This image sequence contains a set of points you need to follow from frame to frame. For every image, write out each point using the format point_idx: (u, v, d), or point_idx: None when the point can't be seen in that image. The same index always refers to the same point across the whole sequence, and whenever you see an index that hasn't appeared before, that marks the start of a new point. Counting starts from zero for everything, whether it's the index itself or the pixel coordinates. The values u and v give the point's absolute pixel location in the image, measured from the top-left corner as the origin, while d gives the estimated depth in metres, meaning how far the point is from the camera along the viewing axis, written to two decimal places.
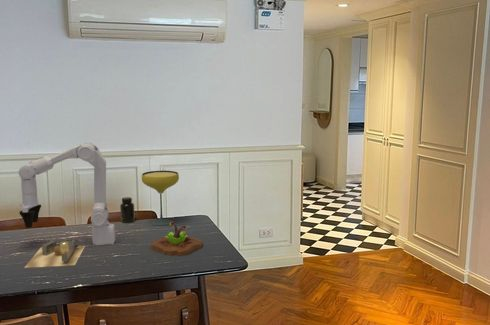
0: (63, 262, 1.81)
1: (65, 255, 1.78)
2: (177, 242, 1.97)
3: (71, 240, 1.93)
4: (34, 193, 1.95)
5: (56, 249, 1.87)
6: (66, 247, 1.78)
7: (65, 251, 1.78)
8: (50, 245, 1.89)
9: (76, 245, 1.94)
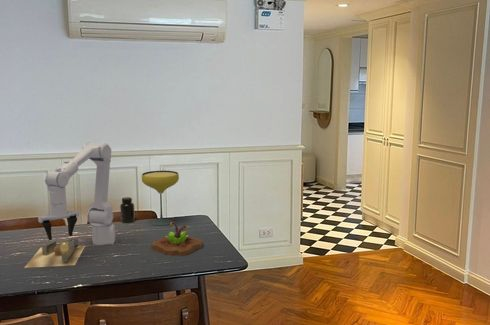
0: (63, 262, 1.81)
1: (65, 255, 1.78)
2: (178, 242, 1.97)
3: (71, 240, 1.93)
4: (56, 204, 1.75)
5: (56, 249, 1.87)
6: (66, 247, 1.78)
7: (65, 251, 1.78)
8: (50, 245, 1.89)
9: (76, 245, 1.94)
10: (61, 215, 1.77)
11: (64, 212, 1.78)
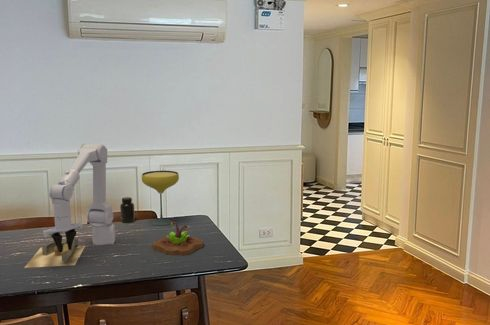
0: (63, 262, 1.81)
1: (65, 255, 1.78)
2: (179, 242, 1.97)
3: None
4: (61, 217, 1.74)
5: (56, 249, 1.87)
6: (66, 247, 1.78)
7: (65, 251, 1.78)
8: (50, 245, 1.89)
9: (76, 245, 1.94)
10: (66, 228, 1.76)
11: (69, 225, 1.77)
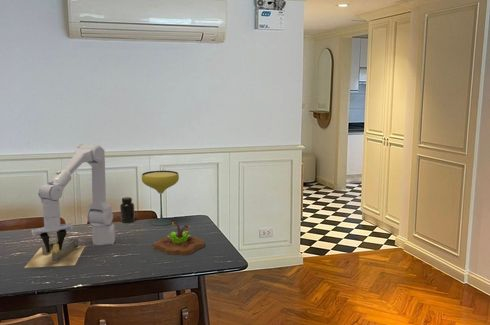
0: (63, 262, 1.81)
1: (55, 255, 1.78)
2: (180, 242, 1.98)
3: (71, 240, 1.93)
4: (49, 217, 1.74)
5: None
6: (56, 247, 1.78)
7: (55, 251, 1.78)
8: (50, 245, 1.89)
9: (75, 245, 1.94)
10: (54, 228, 1.75)
11: (57, 225, 1.76)
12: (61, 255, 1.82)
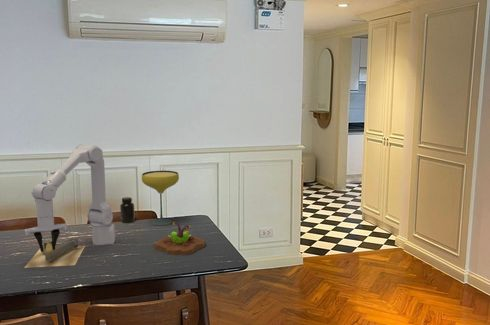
0: (63, 262, 1.81)
1: (48, 255, 1.78)
2: (181, 241, 1.98)
3: (70, 240, 1.93)
4: (42, 217, 1.75)
5: None
6: (49, 247, 1.78)
7: (47, 251, 1.78)
8: None
9: (74, 245, 1.94)
10: (47, 228, 1.76)
11: (50, 225, 1.76)
12: (55, 255, 1.82)
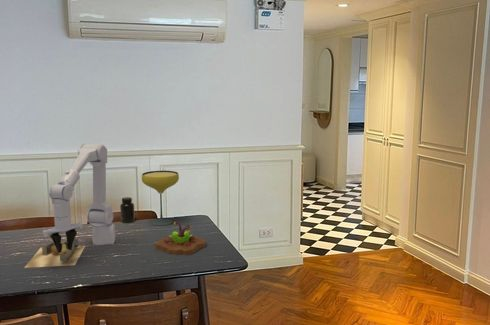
0: (63, 262, 1.81)
1: (63, 255, 1.78)
2: (182, 241, 1.98)
3: None
4: (61, 217, 1.74)
5: (53, 249, 1.87)
6: (64, 247, 1.78)
7: (63, 251, 1.78)
8: (50, 245, 1.89)
9: (76, 245, 1.94)
10: (66, 228, 1.75)
11: (69, 225, 1.77)
12: (67, 255, 1.82)
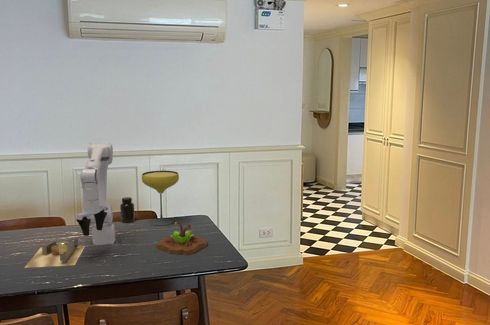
0: (63, 262, 1.81)
1: (63, 255, 1.78)
2: (183, 241, 1.98)
3: (71, 240, 1.93)
4: (93, 200, 1.82)
5: (53, 249, 1.87)
6: (64, 247, 1.78)
7: (63, 251, 1.78)
8: (50, 245, 1.89)
9: (76, 245, 1.94)
10: (97, 210, 1.84)
11: (98, 207, 1.85)
12: (67, 255, 1.82)
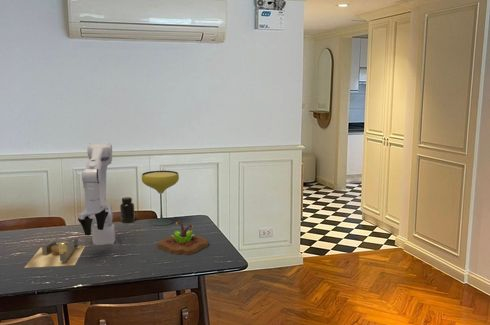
0: (63, 262, 1.81)
1: (63, 255, 1.78)
2: (184, 241, 1.98)
3: (71, 240, 1.93)
4: (95, 199, 1.82)
5: (53, 249, 1.87)
6: (64, 247, 1.78)
7: (63, 251, 1.78)
8: (50, 245, 1.89)
9: (76, 245, 1.94)
10: (99, 210, 1.84)
11: (100, 207, 1.85)
12: (67, 255, 1.82)
